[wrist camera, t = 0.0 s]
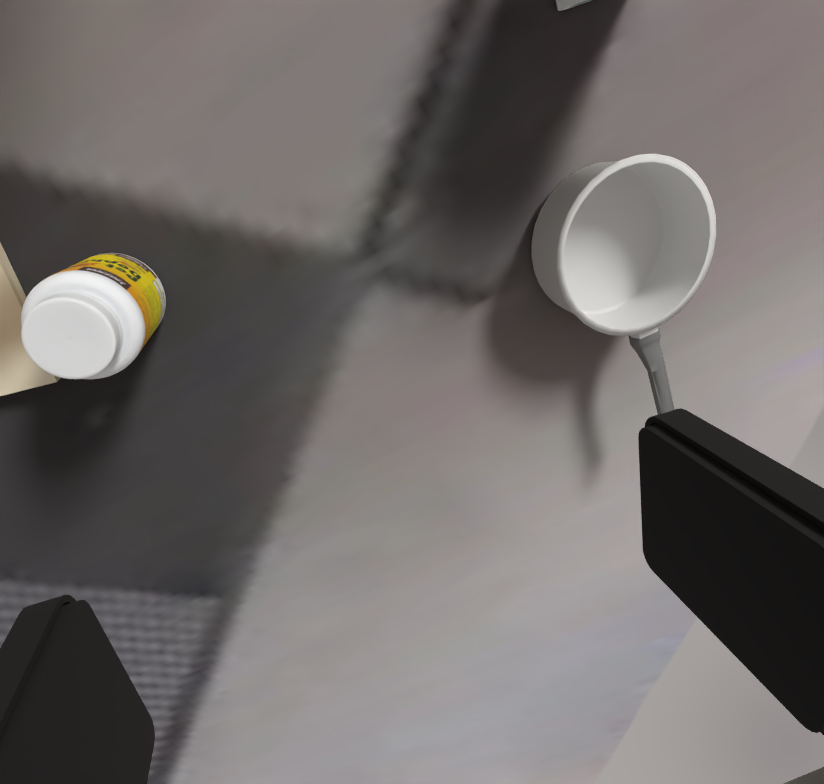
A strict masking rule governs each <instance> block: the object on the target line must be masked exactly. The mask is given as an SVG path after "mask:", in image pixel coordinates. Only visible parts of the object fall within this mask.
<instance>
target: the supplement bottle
mask: <svg viewBox="0 0 824 784" xmlns="http://www.w3.org/2000/svg"><path fill="white" fill-rule="evenodd" d="M165 308H166V297H165V292H164V289H163V286H162V284H161V282H160V280H159V278H158V277H157V276H156V274H155V273H154V272H153V271H152V270H151V269H150V268H149V267H148V266H147V265H145V264H144V263H143V262H141V261H139V260H137V259H135V258H133V257H131V256H128V255H124V254H119V253H103V254H98V255H95V256H92V257H90V258H87V259H85V260H83V261H81V262H79V263H77V264H75V265H72V266H70V267H68V268H66V269H64V270H62V271H60V272H58V273H56V274H54V275H51V276H49V277H48V278H46V279H44V280H43V281H41V282H40V283H39V284H37V285H36V286H35V287H34V288H33V289H32V290H31V292H30V293H29V294H28V296H27V298H26V300H25V302H24V305H23V308H22V312H21V326H22V329H21V338H22V343H23V346H24V348H25V351H26V353H27V354H28V356H29V357H30V358H31V360H32V361H33V362H34V363H35V364H36V365H37V366H38V367H40V368H41V369H43V370H44V371H46V372H48V373H50V374H52V375H54V376H57V377H61V378H66V379H99V378H104V377H108V376H111V375H114V374H116V373H118V372H120V371H121V370H123V369H124V368H126V367H127V366H128V365H129V364H130V363H132V361H133V360H134V359H135V358H136V357H137V356H138V354H139V353H140V351H141V350H142V348H143V347H144V345H145V344H146V342H147V341H148V340H149V338H150V337H151V335H152V334H153V332H154V331H155V330H156V328H157V327H158V325H159V324H160V322H161V320H162V318H163V316H164V313H165Z"/></svg>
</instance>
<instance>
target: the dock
mask: <svg viewBox="0 0 824 784" xmlns="http://www.w3.org/2000/svg"><path fill="white" fill-rule="evenodd" d="M25 300H26V296H25V294H24V291H23V289H22V287H21V285H20V283H19V281H18V279H17V277H16V274H15V272H14V270H13V268H12V266H11V264H10V262H9V260H8V257H7V255H6V253H5V251H4V249H3V247H2V245H1V242H0V396H3V395H7V394H11V393H15V392H19V391H23V390H27V389H31V388H35V387H39V386H43V385H47V384H51V383H55V382H57V381H58V380H59V379H60V378H61V377H57V376H54V375H52V374H50V373H48V372H46V371H44V370H43V369H41V368H40V367H38V366H37V365H36V364H35V363H34V362H33V361H32V360H31V358H30V357H29V356H28V354H27V353H26V351H25V348H24V346H23V343H22V338H21V329H22V326H21V312H22V308H23V305H24V302H25Z"/></svg>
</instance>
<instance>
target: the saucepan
mask: <svg viewBox="0 0 824 784" xmlns="http://www.w3.org/2000/svg"><path fill="white" fill-rule="evenodd" d="M715 239H716V215H715V211H714V206H713V201H712V198H711V196H710V194H709V192H708V189H707V187H706V185H705V184H704V182H703V181H702V180H701V178H700V177H699V176H698V174H697V173H696V172H695V171H694V170H692V169H691V168H690V167H689V166H688V165H686V164H685V163H683V162H681V161H679V160H677V159H675V158H673V157H671V156H665V155H660V154H642V155H636V156H633V157H629V158H626V159H623V160H620V161H619V162H600V163H595V164H592V165H589V166H585V167H583V168H581V169H579V170H578V171H576V172H574V173H572V174H571V175H569V176H568V177H567V178H566V179H565V180H563V181H562V182H561V183H560V184H559V185H558V186H557V187H556V188H555V189H554V191H553V192H552V193H551V194H550V195H549V197H548V198H547V200H546V202H545V203H544V205H543V207H542V209H541V210H540V213H539V215H538V218H537V221H536V223H535V227H534V232H533V237H532V253H531V256H532V262H533V268H534V272H535V275H536V278H537V280H538V283H539V285H540V286H541V288H542V289H543V291H544V292H545V294H546V295H547V296H548V297H549V298H550V299H551V300H552V301H553V302H554V303H555V304H556V305H558V306H560V307H561V308H563V309H565V310H567V311H569V312H571V313H573V314H575V315H576V316H577V317H578V318H579V319H580V320H581V321H582V322H583V323H584V324H586V325H587V326H589V327H591V328H592V329H594V330H595V331H598V332H602V333H605V334H608V335H616V336H628V335H629V340H630V344H631V346H632V347H633V348H634V350H635V351H636V352H637V354H638V355H639V357H640V359H641V360H642V362H643V364H644V366H645V368H646V369H647V371H648V375H649V379H650V383H651V388H652V392H653V396H654V400H655V404H656V408H657V413H658V415H659V414H662V413H666V412H669V411H672V410H674V406H673V401H672V396H671V391H670V387H669V382H668V377H667V372H666V367H665V363H664V358H663V353H662V350H661V347H660V342H659V340H660V330H659V327H658V326H660V325H661V324H663V323H665V322H667V321H668V320H669V319H671V318H672V317H673V316H674V315H676V314H677V313H678V312H679V311H680V310H681V309H682V308H683V307H684V306H685V305H686V304H687V303H688V302H689V301H690V299H691V298H692V297H693V295H694V294H695V292H696V291H697V289H698V288H699V286H700V285H701V283H702V281H703V279H704V277H705V275H706V273H707V271H708V268H709V266H710V262H711V259H712V256H713V252H714V247H715Z"/></svg>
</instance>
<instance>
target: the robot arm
mask: <svg viewBox="0 0 824 784" xmlns="http://www.w3.org/2000/svg"><path fill="white" fill-rule="evenodd" d="M639 462H640V487H641V512H642V538H643V553H644V556H645V559H646V561H647V563H648V565H649V567H650V568H651V569H652V571H653V572H654V573H655V574H656V575H657V576H658V577H659V578H660V579H661V580H662V581H663V582H664V583H665V584H666V585H667V586H668V587H669V588H670V589H671V590H672V591H673V592H674V593H675V594H676V595H677V596H678V597H679V599H680V600H681V601H682V602H683V603H684V604H685V605H686V606H687V607H688V608H689V609H690V610H691V611H692V612H693V613H694V614H695V615H696V616H697V617H698V618H699V619H700V620H701V621H702V622H703V623H704V624H705V625H706V626H707V627H708V628H709V629H710V630H711V631H712V632H713V633H714V635H716V636H717V638H718V639H719V640H720V641H721V642H722V643H723V644H724V645H725V646H726V647H727V648H728V649H729V650H730V651H731V652H732V653H733V654H734V655H735V656H736V657H737V658H738V659H739V660H740V661H741V662H742V663H743V664H744V665H745V666H746V667H747V668H748V670H749V671H751V673H752V674H753V675H754V676H755V677H756V678H757V679H758V680H759V681H760V682H761V683H762V684H763V685H764V686H765V687H766V688H767V689H768V690H769V691H770V692H771V693H772V694H773V695H774V696H775V697H776V698H777V699H778V700H779V701H780V703H782V704H783V706H785V708H786V709H787V710H788V711H789V712H790V713H791V714H792V715H793V716H794V717H795V718H796V719H797V720H798V721H799V722H800V723H801V724H802V725H803V726H804V727H805V728H807V729H808V730H810V731H812V732H816V733H818V732H821V733H822V734H823V735H824V488H822V487H820V486H818V485H817V484H815V483H813V482H811V481H809V480H808V479H806V478H804V477H803V476H801V475H799V474H797V473H795V472H794V471H792V470H790V469H788V468H787V467H785V466H783V465H781V464H780V463H778V462H776V461H774V460H773V459H771V458H769V457H767V456H766V455H764V454H762V453H760V452H759V451H757V450H755V449H753V448H752V447H750V446H748V445H746V444H745V443H743V442H741V441H739V440H738V439H736V438H734V437H732V436H730V435H729V434H727V433H725V432H723V431H722V430H720V429H718V428H716V427H715V426H713V425H711V424H709V423H708V422H706V421H704V420H702V419H701V418H699V417H697V416H695V415H694V414H692V413H690V412H688V411H687V410H684V409H676V410H672V411H669V412H666V413H662V414H659V415H656V416H652V417H650V418H649V419H647V421H646V423H645V428H642V429H641V430H640V432H639ZM154 740H155V732H154V725H153V721H152V719H151V716H150V714H149V713H148V711H147V709H146V707H145V705H144V703H143V702H142V700H141V698H140V696H139V694H138V693H137V691H136V689H135V687H134V685H133V683H132V682H131V680H130V678H129V676H128V674H127V672H126V671H125V669H124V667H123V665H122V663H121V661H120V660H119V658H118V656H117V654H116V652H115V650H114V649H113V647H112V645H111V643H110V641H109V639H108V638H107V636H106V634H105V632H104V630H103V628H102V627H101V625H100V623H99V621H98V619H97V617H96V616H95V614H94V612H93V610H92V608H91V607H90V605H89V604H88V603H87V602H86V601H85V600H80V601H76V600H75V599H74V598H73V597H71V596H70V595H63V596H60V597H56V598H53V599H50V600H47V601H43V602H40V603H37V604H33V605H30V606H27V607H25V608H24V609H23V610H22V611H21V612H20V614H19V615H18V617H17V619H16V621H15V623H14V625H13V626H12V628H11V630H10V632H9V634H8V636H7V637H6V639H5V641H4V643H3V645H2V647H1V648H0V784H147V779H148V774H149V769H150V763H151V758H152V753H153V748H154ZM784 784H824V767H823V768H821V769H818V770H816V771H813V772H811V773H808V774H806V775H803V776H801V777H798V778H796V779H794V780H791V781H789V782H786V783H784Z"/></svg>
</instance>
